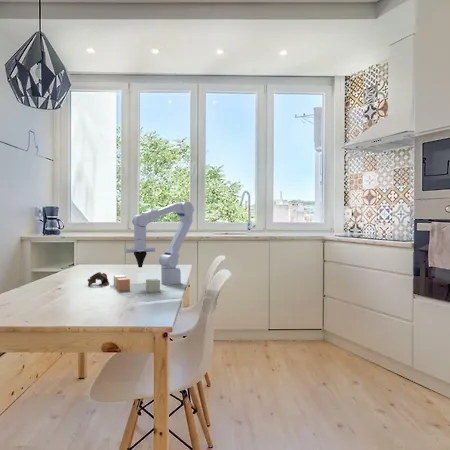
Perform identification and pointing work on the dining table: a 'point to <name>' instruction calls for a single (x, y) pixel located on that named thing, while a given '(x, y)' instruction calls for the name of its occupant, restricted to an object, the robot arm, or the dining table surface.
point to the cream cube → (116, 279)
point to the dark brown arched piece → (98, 278)
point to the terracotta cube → (123, 284)
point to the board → (134, 289)
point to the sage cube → (152, 285)
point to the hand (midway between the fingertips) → (140, 267)
